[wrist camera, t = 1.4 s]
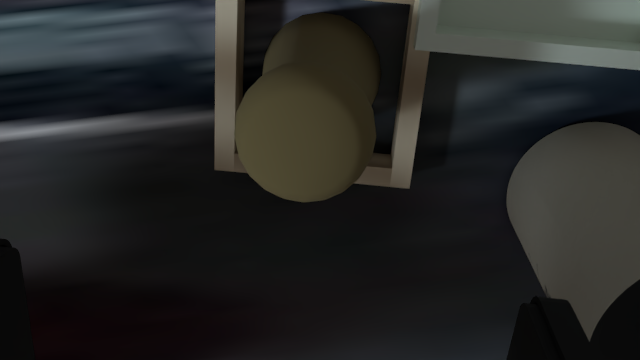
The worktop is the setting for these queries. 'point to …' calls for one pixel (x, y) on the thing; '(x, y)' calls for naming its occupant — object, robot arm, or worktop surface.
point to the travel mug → (585, 228)
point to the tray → (534, 30)
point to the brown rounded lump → (311, 109)
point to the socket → (230, 95)
